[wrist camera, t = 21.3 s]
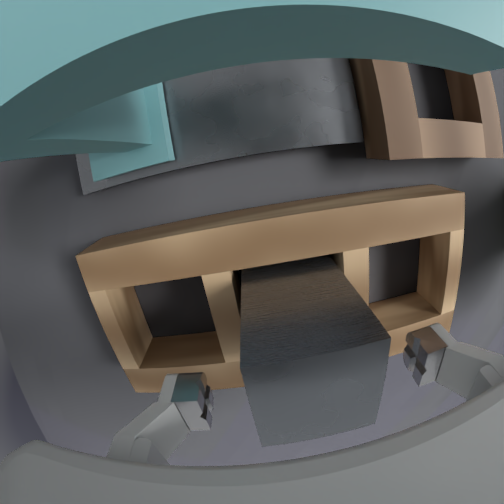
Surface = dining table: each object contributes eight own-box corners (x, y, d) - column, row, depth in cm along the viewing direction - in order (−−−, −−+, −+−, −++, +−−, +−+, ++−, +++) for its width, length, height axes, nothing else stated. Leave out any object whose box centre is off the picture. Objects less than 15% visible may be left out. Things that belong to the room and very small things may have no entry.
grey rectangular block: (242, 253, 17) (239, 367, 8) (317, 241, 17) (391, 337, 8) (254, 318, 19) (262, 446, 9) (322, 306, 19) (375, 423, 9)
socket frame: (451, 32, 12) (474, 22, 9) (476, 154, 15) (503, 158, 12) (74, 66, 13) (49, 56, 10) (94, 207, 16) (70, 218, 13)
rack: (102, 237, 17) (75, 255, 13) (432, 184, 16) (464, 192, 13) (148, 361, 20) (136, 392, 16) (425, 312, 19) (448, 336, 16)
